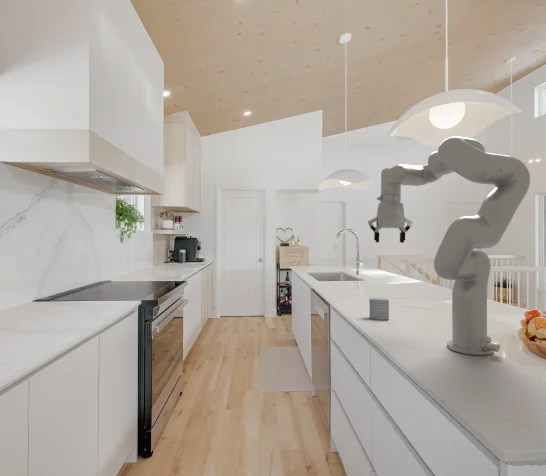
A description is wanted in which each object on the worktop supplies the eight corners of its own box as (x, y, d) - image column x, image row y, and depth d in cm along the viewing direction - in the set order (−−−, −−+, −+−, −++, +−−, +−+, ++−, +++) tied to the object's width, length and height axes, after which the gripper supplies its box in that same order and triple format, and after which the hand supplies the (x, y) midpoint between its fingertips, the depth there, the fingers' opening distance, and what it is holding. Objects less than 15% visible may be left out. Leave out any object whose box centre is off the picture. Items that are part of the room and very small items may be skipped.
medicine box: (388, 318, 152) (388, 298, 152) (389, 320, 148) (388, 300, 148) (369, 317, 155) (369, 297, 154) (369, 319, 150) (369, 299, 150)
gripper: (370, 198, 137) (369, 242, 138) (415, 199, 136) (414, 243, 136) (366, 200, 144) (365, 241, 145) (409, 200, 143) (408, 242, 144)
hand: (389, 242), depth 141 cm, fingers open, 9 cm apart
